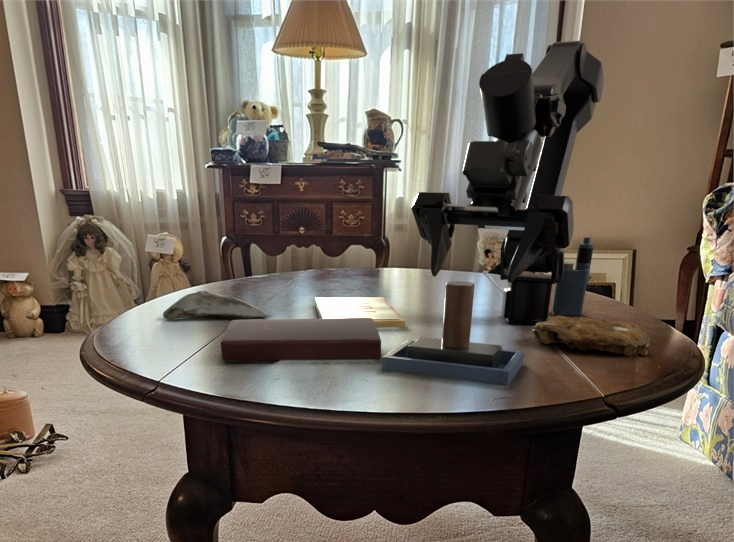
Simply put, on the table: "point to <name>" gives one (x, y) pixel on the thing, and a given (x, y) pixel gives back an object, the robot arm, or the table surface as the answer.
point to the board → (360, 310)
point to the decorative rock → (593, 334)
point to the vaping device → (573, 283)
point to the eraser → (457, 333)
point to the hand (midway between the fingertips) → (470, 277)
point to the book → (301, 340)
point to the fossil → (210, 306)
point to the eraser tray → (454, 366)
